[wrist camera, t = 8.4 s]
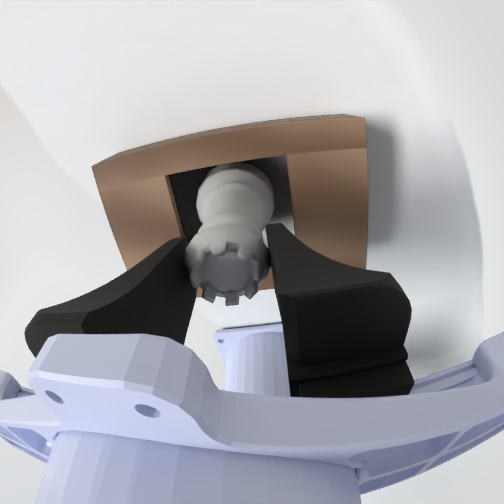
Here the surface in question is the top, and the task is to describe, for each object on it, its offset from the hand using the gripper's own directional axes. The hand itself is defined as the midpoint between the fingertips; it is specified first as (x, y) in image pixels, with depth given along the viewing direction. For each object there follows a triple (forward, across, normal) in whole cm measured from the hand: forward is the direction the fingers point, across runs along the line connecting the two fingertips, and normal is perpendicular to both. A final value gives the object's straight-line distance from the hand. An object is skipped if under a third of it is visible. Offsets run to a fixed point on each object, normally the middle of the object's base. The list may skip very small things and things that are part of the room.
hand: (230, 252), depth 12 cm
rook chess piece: (+6, 0, 0) cm, 6 cm away
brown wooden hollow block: (+7, 0, 0) cm, 7 cm away
